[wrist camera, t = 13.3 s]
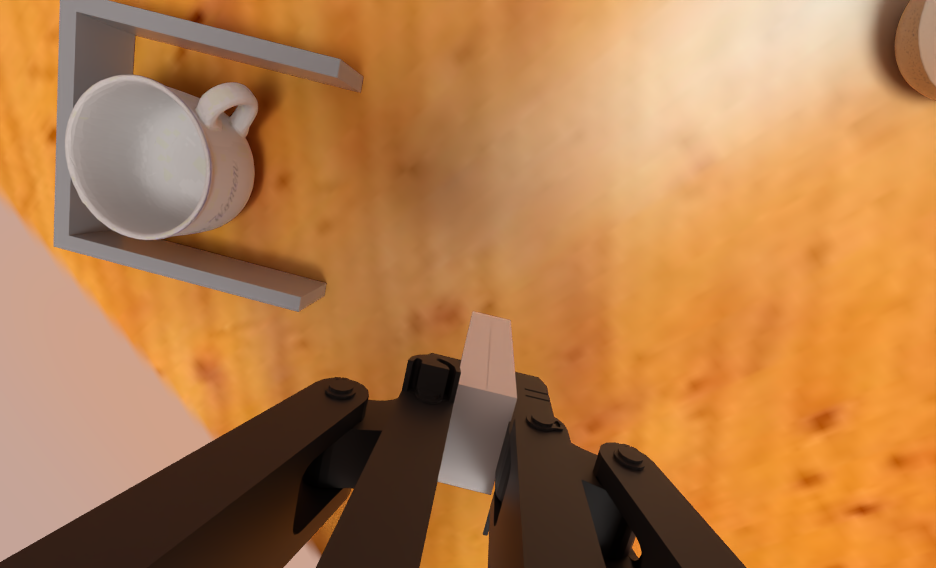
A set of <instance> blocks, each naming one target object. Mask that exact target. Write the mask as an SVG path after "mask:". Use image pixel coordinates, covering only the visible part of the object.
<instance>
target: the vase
mask: <svg viewBox="0 0 936 568" xmlns="http://www.w3.org/2000/svg"><path fill="white" fill-rule="evenodd" d="M895 56H896V62H897V65H898V68H899V70H900V73H901V74H902V76H903V77H904V79H905V81H906V82H907V83H908V84H909V85H910V86H911V87H912V88H913V89H915V90H916V91H917V92H919V93H920V94H922V95H924V96H926V97H928V98H930V99H932V100H935V101H936V0H910V1H909V3H908V4H907V6H906V7H905V9H904V11H903V14H902V16H901V18H900V21H899V24H898V27H897V31H896V37H895Z"/></svg>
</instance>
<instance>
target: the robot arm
mask: <svg viewBox="0 0 936 568" xmlns="http://www.w3.org/2000/svg"><path fill="white" fill-rule="evenodd" d="M368 397H369V394H368V390H367V389H366V388H365V387H364V385H362V384H360V383H358V382H356V381H353V380H349V379H348V378H341V377H335V378H329V379H323V380H320V381H318V382H315V383H314V384H312V385H310V386H308V387H307V388H305V389H303V390H301V391H300V392H298V393H296V394H294V395H293V396H291V397H289V398H287V399H286V400H284V401H282V402H280V403H278V404H277V405H275V406H273V407H271V408H270V409H268V410H266V411H264V412H263V413H261V414H259V415H257V416H256V417H254V418H252V419H250V420H249V421H247V422H245V423H243V424H242V425H240V426H238V427H236V428H235V429H233V430H231V431H229V432H228V433H226V434H224V435H222V436H221V437H219V438H217V439H215V440H214V441H212V442H210V443H208V444H207V445H205V446H203V447H201V448H200V449H198V450H196V451H195V452H193V453H191V454H189V455H187V456H186V457H184V458H182V459H180V460H179V461H177V462H175V463H173V464H171V465H170V466H168V467H166V468H164V469H163V470H161V471H159V472H157V473H156V474H154V475H152V476H150V477H149V478H147V479H145V480H143V481H142V482H140V483H138V484H137V485H135V486H133V487H131V488H129V489H128V490H126V491H124V492H122V493H121V494H119V495H117V496H115V497H114V498H112V499H110V500H108V501H107V502H105V503H103V504H101V505H100V506H98V507H96V508H94V509H93V510H91V511H89V512H87V513H86V514H84V515H82V516H80V517H79V518H77V519H75V520H73V521H72V522H70V523H68V524H66V525H65V526H63V527H61V528H59V529H57V530H56V531H54V532H52V533H50V534H49V535H47V536H45V537H44V538H42V539H40V540H38V541H37V542H35V543H33V544H31V545H29V546H28V547H26V548H24V549H22V550H21V551H19V552H17V553H15V554H14V555H12V556H10V557H8V558H7V559H5V560H3V561H2V562H0V568H283V567H284V566H285V565H286V564H287V563H288V562H289V561H290V560H291V559H292V558H293V556H294V555H295V554H296V553H297V552H298V551H299V550H300V549H301V548H302V547H303V546H304V545H305V543H306V542H307V541H308V540H309V539H310V538H311V537H312V536H313V535H314V534H315V533H316V532H317V530H318V529H319V528H320V527H321V526H322V525H323V524H324V523H325V522H326V521H327V520H328V518H329V517H330V516H331V515H332V514H333V513H334V512H335V511H336V510H337V509H338V508H339V507H340V505H341V504H342V503H343V502H344V501H345V500H346V499H347V497H348V495H349V494H350V491H351V488H354V490H353V492H352V494H351V496H350V498H349V500H348V502H347V505H346V507H345V509H344V511H343V513H342V515H341V517H340V519H339V521H338V523H337V525H336V527H335V529H334V531H333V533H332V535H331V537H330V540H329V542H328V544H327V546H326V548H325V550H324V552H323V554H322V556H321V558H320V560H319V562H318V564H317V566H316V568H419V566H420V562H421V557H422V552H423V547H424V543H425V538H426V533H427V528H428V524H429V519H430V514H431V509H432V505H433V500H434V495H435V490H436V486H437V482H441V483H445V484H449V485H453V486H457V487H461V488H465V489H469V490H473V491H477V492H481V493H485V494H489V495H491V492H492V489H493V485H494V481H495V492H494V495H493V499H492V503H491V506H490V510H489V513H488V517H487V521H486V524H485V528H484V532H483V535H488V532H489V551H488V568H746V567H745V566H744V564H743V563H742V562H741V561H740V560H739V559H738V558H737V556H736V555H735V554H734V553H733V552H732V551H731V550H730V548H729V547H728V546H727V545H726V544H725V543H724V542H723V540H722V539H721V538H720V537H719V536H718V535H717V534H716V533H715V531H714V530H713V529H712V528H711V527H710V526H709V525H708V523H707V522H706V521H705V520H704V519H703V518H702V517H701V515H700V514H699V513H698V512H697V511H696V510H695V509H694V508H693V506H692V505H691V504H690V503H689V502H688V501H687V500H686V498H685V497H684V496H683V495H682V494H681V493H680V492H679V490H678V489H677V488H676V487H675V486H674V485H673V484H672V483H671V481H670V480H669V479H668V478H667V477H666V476H665V475H664V473H663V472H662V471H661V470H660V469H659V468H658V467H657V465H656V464H655V463H654V462H653V461H652V460H651V459H649V458H648V457H647V456H646V455H644V454H643V453H641V452H639V451H638V450H637V449H636V448H634V447H630V446H629V445H626V444H619V443H605V444H603V445H601V447H600V450H599V453H598V455H596V454H593V453H591V452H589V451H586V450H584V449H582V448H580V447H578V446H576V445H574V444H572V443H571V441H570V437H569V434H568V430H567V429H566V427H565V425H564V424H563V423H562V422H561V421H559V420H558V419H557V418H555V417H554V415H553V411H552V407H551V403H550V398H549V396H548V390H547V386H546V385H545V384H544V383H543V382H542V381H541V380H540V379H539V378H538V377H534V376H530V375H526V374H522V373H518V372H515V366H514V355H513V343H512V331H511V320H508V319H503V318H499V317H495V316H491V315H487V314H482V313H478V312H474V311H473V312H472V316H471V321H470V325H469V329H468V333H467V338H466V342H465V346H464V350H463V354H462V359H461V360H458V359H454V358H450V357H446V356H442V355H438V354H434V353H431V354H428V355H416V356H412V357H411V358H410V359H409V360H408V364H407V368H406V373H405V378H404V383H403V387H402V391H401V393H400V395H399V397H398V398H397V399H394V400H387V401H375V400H368ZM635 537H637V539H638V542H639V544H640V547H641V551H642V554H641V556H640V558H638V557H637V556H636V554H635V552H634V551H633V549H632V546H633V543H634V540H635Z"/></svg>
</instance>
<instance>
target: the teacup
mask: <svg viewBox="0 0 936 568" xmlns="http://www.w3.org/2000/svg"><path fill="white" fill-rule="evenodd" d="M237 105H238V106H237ZM233 106H237V108H236V110H235V111H234V113H233V114H232V115H231V116H230V117H229V116H228V115H227V114H225V113H224V111H225V110H227V109H229V108H231V107H233ZM257 112H258V102H257V99H256V97H255V96H254V95H253V93H252V92H251V91H250V89H249V88H247V87H246V86H244V85H243V84H240V83H235V82H231V83H223V84H220V85H217V86H215V87H213V88H211V89H210V90H208V91H207V92H206V93H205V94H203V96H202V97H201V98H198V97H195V96H193V95H190V94H188V93H185V92H182V91H179V90H176V89H173V88H170V87H167V86H165V85H163V84H161V83H159V82H157V81H155V80H153V79H150V78H146V77H143V76H138V75H116V76H113V77H110V78H107V79H104V80H101V81H99V82H97V83H96V84H94V85H92V86H91V87H90V88H89V89H88V90H87V91H86V92H85V93H83V94H82V95H81V97H80V98H79V100H78V101H77V103H76V104H75V106H74V108H73V110H72V112H71V115H70V117H69V120H68V123H67V129H66V134H65V155H66V161H67V166H68V170H69V173H70V176H71V179H72V182H73V185H74V186H75V188H76V190H77V193H78V195H79V197H80V199H81V201H82V203H84V204H85V205H86V206H87V208H88V209H89V210H90V212H91V213H92V214H93V215H94V216H95V217H96V218H97V219H98V220H99V221H101V222H102V223H103V224H105V225H106V226H107V227H108V228H110V229H111V230H113V231H115V232H117V233H120V234H122V235H124V236H127V237H132V238H135V239H140V240H159V239H164V238H168V237H171V236H179V235H187V234H194V233H200V232H204V231H209V230H212V229H215V228H218V227H221V226H222V225H224V224H226V223H228V222H229V221H231V220H232V219H233V218H235V217H236V216H237V215H238V214H239V213H240V212H241V210H242V209H243V208H244V207H245V205H246V203H247V202H248V200H249V197H250V195H251V192H252V189H253V184H254V177H255V169H254V160H253V155H252V152H251V149H250V146H249V144H248V142H247V140H246V136H247V134H248V132H249V127H250V125H251V124H252V122H253V120H254V119H255V117H256V115H257Z"/></svg>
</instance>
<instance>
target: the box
mask: <svg viewBox="0 0 936 568" xmlns="http://www.w3.org/2000/svg"><path fill="white" fill-rule="evenodd" d="M135 35H136V36H139V37H143V38H147V39H151V40H155V41H159V42H163V43H167V44H171V45H175V46H179V47H183V48H187V49H191V50H195V51H198V52H202V53H206V54H210V55H214V56H218V57H222V58H226V59H230V60H234V61H238V62H242V63H246V64H250V65H253V66H257V67H261V68H265V69H269V70H273V71H277V72H281V73H285V74H289V75H293V76H297V77H301V78H305V79H308V80H312V81H316V82H320V83H324V84H328V85H332V86H336V87H340V88H344V89H348V90H352V91H356V92H360V93H361V88H362V82H363V76H362V75H360V74H359V73H358V72H356V71H355V70H354V69H353V68H351V67H350V66H349V65H347V64H346V63H345V62H343V61H342V60H341V59H338V58H334V57H330V56H326V55H322V54H318V53H314V52H310V51H306V50H302V49H298V48H294V47H290V46H286V45H282V44H278V43H275V42H271V41H267V40H263V39H259V38H255V37H251V36H247V35H243V34H239V33H235V32H231V31H227V30H223V29H219V28H215V27H211V26H207V25H203V24H199V23H195V22H191V21H188V20H184V19H180V18H176V17H172V16H168V15H164V14H160V13H156V12H152V11H148V10H144V9H140V8H136V7H132V6H128V5H124V4H120V3H116V2H112V1H108V0H60V21H59V60H58V98H57V137H56V175H55V214H54V247H58V248H61V249H65V250H69V251H73V252H76V253H80V254H84V255H88V256H91V257H95V258H99V259H103V260H106V261H110V262H114V263H117V264H121V265H125V266H129V267H132V268H136V269H140V270H144V271H147V272H151V273H155V274H159V275H162V276H166V277H170V278H174V279H177V280H181V281H185V282H189V283H192V284H196V285H200V286H204V287H207V288H211V289H215V290H219V291H222V292H226V293H230V294H233V295H237V296H241V297H245V298H248V299H252V300H256V301H260V302H263V303H267V304H271V305H275V306H278V307H282V308H286V309H290V310H293V311H297V312H299V311H301V310H302V309H304V308H306V307H307V306H309V305H311V304H312V303H314V302H315V301H317V300H319V299H320V298H322V297H324V295H325V289H326V284H327V283H324V282H320V281H316V280H313V279H309V278H305V277H301V276H298V275H294V274H290V273H286V272H282V271H279V270H275V269H271V268H267V267H264V266H260V265H256V264H252V263H249V262H245V261H241V260H237V259H233V258H230V257H226V256H222V255H218V254H215V253H211V252H207V251H203V250H200V249H196V248H192V247H188V246H184V245H181V244H177V243H173V242H169V241H166V240H162V239H159V240H140V239H135V238H132V237H127V236H124V235H122V234H120V233H117V232H115V231H113V230H111V229H110V228H108V227H107V226H106V225H105V224H103V223H102V222H101V221H99V220H98V219H97V218H96V217H95V216H94V215H93V214H92V213H91V212H90V210H89V209H88V208H87V206H86V205H85V204H84V203H82V201H81V199H80V197H79V195H78V193H77V190H76V188H75V186H74V185H73V182H72V179H71V176H70V173H69V170H68V166H67V161H66V155H65V134H66V129H67V123H68V120H69V117H70V115H71V112H72V110H73V108H74V106H75V104H76V103H77V101H78V100H79V98H80V97H81V95H82V94H83V93H85V92H86V91H87V90H88V89H89V88H90V87H91V86H92V85H94V84H96V83H97V82H99V81H101V80H104V79H107V78H110V77H113V76H116V75H133V62H134V46H135Z"/></svg>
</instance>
